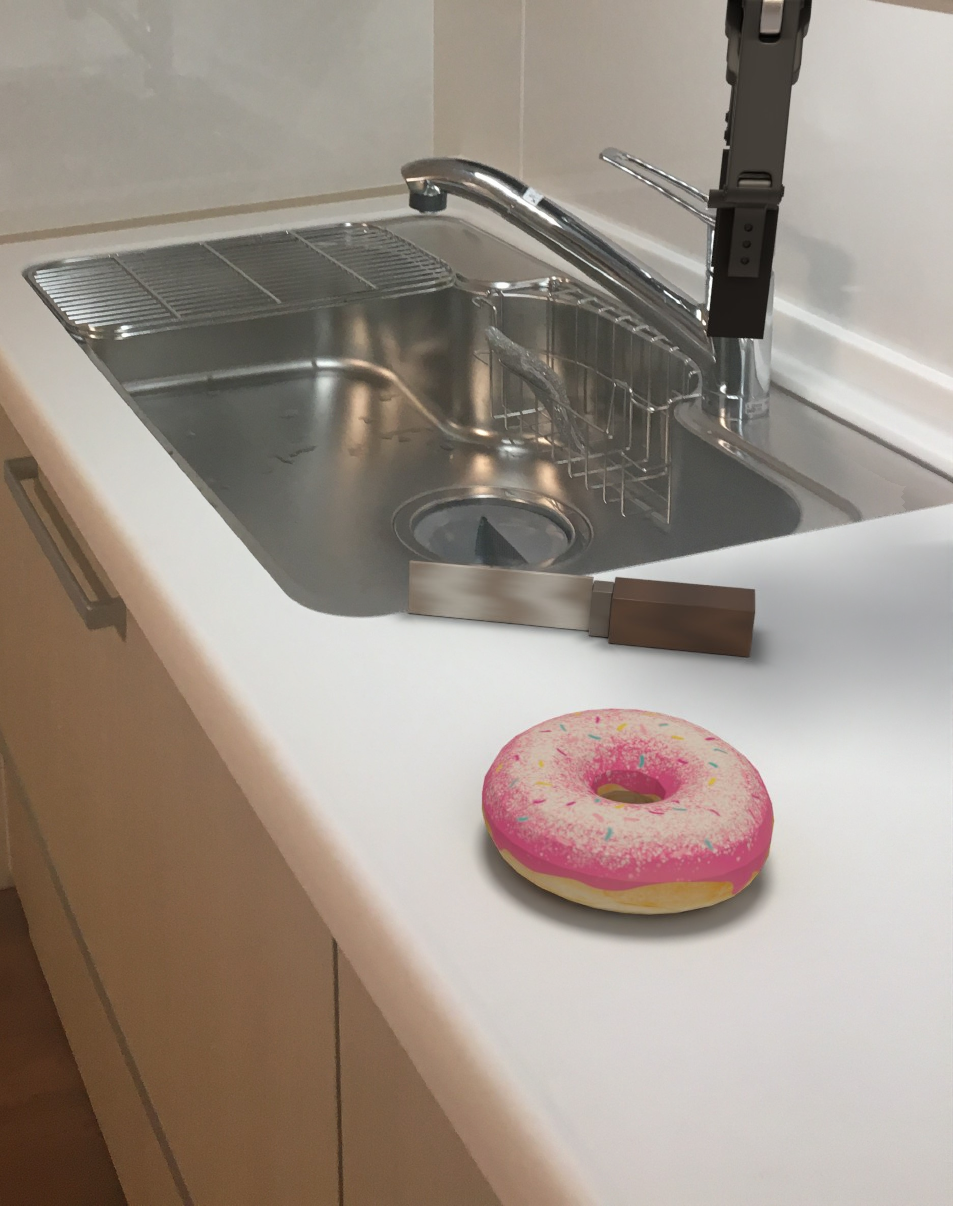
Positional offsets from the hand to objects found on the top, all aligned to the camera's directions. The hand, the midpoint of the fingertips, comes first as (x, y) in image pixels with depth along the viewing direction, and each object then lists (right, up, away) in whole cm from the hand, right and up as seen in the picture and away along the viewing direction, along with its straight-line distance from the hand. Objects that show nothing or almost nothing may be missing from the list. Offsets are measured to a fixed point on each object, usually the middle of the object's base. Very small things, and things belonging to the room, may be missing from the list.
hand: (735, 299), depth 89 cm
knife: (-6, -18, +11) cm, 22 cm away
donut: (-9, -28, -10) cm, 31 cm away
